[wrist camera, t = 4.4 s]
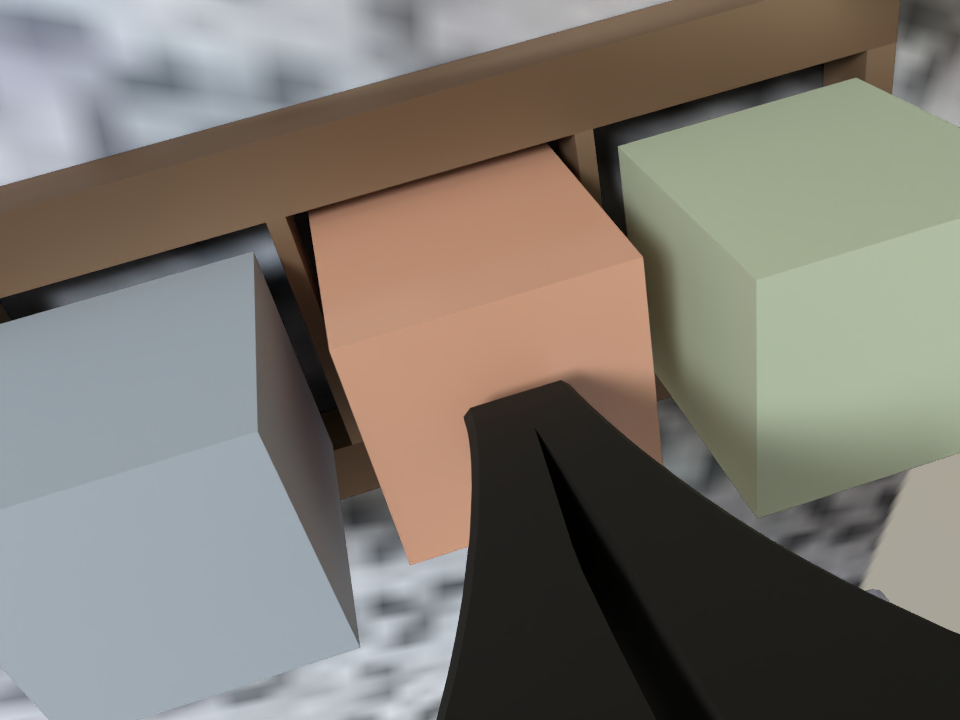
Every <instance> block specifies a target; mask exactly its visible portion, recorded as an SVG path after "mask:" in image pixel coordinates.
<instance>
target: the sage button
mask: <svg viewBox="0 0 960 720" xmlns="http://www.w3.org/2000/svg"><path fill="white" fill-rule="evenodd" d="M618 153H619V163H620V172H621V181H622V191H623V200H624V210H625V219H626V229H627V238H628V240H629V241H630V242H631V243H632V245H633V246H634V247H635V248H636V249H637V250H638V252H639V253H640V254H641V255H642V256H643V261H644V272H645V282H646V293H647V303H648V314H649V324H650V335H651V345H652V356H653V366H654V372H655V373H656V375H657V376H658V378H659V379H660V381H661V382H662V383H663V385H664V386H665V388H666V389H667V391H668V392H669V393H670V395H671V396H672V398H673V399H674V401H675V402H676V403H677V405H678V406H679V408H680V409H681V411H682V412H683V413H684V415H685V416H686V418H687V419H688V421H689V422H690V423H691V425H692V426H693V428H694V429H695V431H696V432H697V433H698V435H699V436H700V438H701V439H702V441H703V442H704V443H705V445H706V446H707V448H708V449H709V451H710V452H711V453H712V455H713V456H714V458H715V459H716V461H717V462H718V463H719V465H720V466H721V468H722V469H723V471H724V472H725V473H726V475H727V476H728V478H729V479H730V481H731V482H732V483H733V485H734V486H735V488H736V489H737V491H738V492H739V493H740V495H741V496H742V498H743V499H744V501H745V502H746V503H747V505H748V506H749V508H750V509H751V511H752V512H753V513H754V515H755V516H756V518H757V519H758V518H761V517H764V516H767V515H770V514H773V513H776V512H779V511H783V510H786V509H789V508H792V507H795V506H798V505H801V504H804V503H807V502H810V501H813V500H816V499H819V498H823V497H826V496H829V495H832V494H835V493H838V492H841V491H844V490H847V489H850V488H853V487H856V486H860V485H863V484H866V483H869V482H872V481H875V480H878V479H881V478H884V477H887V476H890V475H893V474H896V473H900V472H903V471H906V470H909V469H912V468H915V467H918V466H921V465H924V464H927V463H930V462H933V461H936V460H940V459H942V458H946V457H949V456H952V455H955V454H958V453H960V127H958V126H956V125H954V124H952V123H950V122H948V121H946V120H944V119H941V118H939V117H937V116H935V115H933V114H931V113H929V112H927V111H925V110H923V109H921V108H918V107H916V106H914V105H912V104H910V103H908V102H906V101H904V100H902V99H900V98H898V97H896V96H893V95H891V94H889V93H887V92H885V91H883V90H881V89H879V88H877V87H875V86H873V85H870V84H868V83H866V82H864V81H862V80H860V79H858V78H853V79H849V80H846V81H843V82H839V83H836V84H832V85H829V86H825V87H822V88H818V89H815V90H811V91H808V92H804V93H801V94H797V95H794V96H790V97H787V98H784V99H780V100H777V101H773V102H770V103H766V104H763V105H759V106H756V107H752V108H749V109H745V110H742V111H738V112H735V113H731V114H728V115H724V116H721V117H718V118H714V119H711V120H707V121H704V122H700V123H697V124H693V125H690V126H686V127H683V128H679V129H676V130H672V131H669V132H665V133H662V134H659V135H655V136H652V137H648V138H645V139H641V140H638V141H634V142H631V143H627V144H624V145H620V146H618Z"/></svg>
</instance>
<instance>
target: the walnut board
mask: <svg viewBox="0 0 960 720" xmlns="http://www.w3.org/2000/svg"><path fill="white" fill-rule="evenodd" d="M899 10H900V0H673V1H669V2H665V3H662V4H658V5H655V6H651V7H647V8H644V9H640V10H637V11H633V12H629V13H626V14H622V15H618V16H615V17H611V18H608V19H604V20H600V21H597V22H593V23H589V24H586V25H582V26H579V27H575V28H571V29H568V30H564V31H561V32H557V33H553V34H550V35H546V36H542V37H539V38H535V39H532V40H528V41H524V42H521V43H517V44H514V45H510V46H506V47H503V48H499V49H495V50H492V51H488V52H485V53H481V54H477V55H474V56H470V57H467V58H463V59H459V60H456V61H452V62H448V63H445V64H441V65H438V66H434V67H430V68H427V69H423V70H420V71H416V72H412V73H409V74H405V75H401V76H398V77H394V78H391V79H387V80H383V81H380V82H376V83H372V84H369V85H365V86H362V87H358V88H354V89H351V90H347V91H344V92H340V93H336V94H333V95H329V96H325V97H322V98H318V99H315V100H311V101H307V102H304V103H300V104H297V105H293V106H289V107H286V108H282V109H278V110H275V111H271V112H268V113H264V114H260V115H257V116H253V117H250V118H246V119H242V120H239V121H235V122H231V123H228V124H224V125H221V126H217V127H213V128H210V129H206V130H202V131H199V132H195V133H192V134H188V135H184V136H181V137H177V138H174V139H170V140H166V141H163V142H159V143H155V144H152V145H148V146H145V147H141V148H137V149H134V150H130V151H127V152H123V153H119V154H116V155H112V156H108V157H105V158H101V159H98V160H94V161H90V162H87V163H83V164H80V165H76V166H72V167H69V168H65V169H61V170H58V171H54V172H51V173H47V174H43V175H40V176H36V177H33V178H29V179H25V180H22V181H18V182H14V183H11V184H7V185H4V186H0V298H3V297H7V296H10V295H14V294H17V293H21V292H24V291H28V290H31V289H35V288H38V287H42V286H45V285H49V284H52V283H56V282H59V281H63V280H66V279H70V278H73V277H77V276H80V275H84V274H87V273H91V272H94V271H98V270H101V269H105V268H108V267H112V266H115V265H119V264H122V263H126V262H129V261H133V260H136V259H140V258H143V257H147V256H150V255H154V254H157V253H161V252H164V251H168V250H171V249H175V248H178V247H182V246H185V245H189V244H192V243H196V242H199V241H203V240H206V239H210V238H213V237H217V236H220V235H224V234H227V233H231V232H234V231H238V230H241V229H245V228H248V227H252V226H255V225H259V224H262V223H266V224H267V227H268V230H269V232H270V235H271V237H272V240H273V242H274V245H275V247H276V250H277V253H278V255H279V258H280V260H281V263H282V265H283V268H284V271H285V273H286V276H287V278H288V281H289V283H290V286H291V289H292V291H293V294H294V296H295V299H296V301H297V304H298V306H299V309H300V312H301V314H302V317H303V319H304V322H305V324H306V327H307V330H308V332H309V335H310V337H311V340H312V342H313V345H314V348H315V350H316V353H317V355H318V358H319V360H320V363H321V365H322V368H323V371H324V373H325V376H326V378H327V381H328V383H329V386H330V389H331V391H332V394H333V396H334V399H335V401H336V404H337V407H338V408H337V409H334V410H331V411H327V412H324V413H321V414H320V415H321V418H322V420H323V422H324V425H325V427H326V430H327V432H328V435H329V437H330V440H331V442H332V445H333V452H334V459H335V466H336V474H337V481H338V488H339V496H340V500H342V499H345V498H348V497H351V496H355V495H358V494H361V493H364V492H367V491H371V490H374V489H377V488H380V487H381V486H380V484H379V481H378V478H377V476H376V473H375V470H374V468H373V465H372V462H371V460H370V457H369V455H368V452H367V449H366V447H365V444H364V441H363V439H362V436H361V433H360V431H359V428H358V425H357V423H356V420H355V417H354V415H353V412H352V410H351V407H350V404H349V402H348V399H347V396H346V394H345V391H344V388H343V386H342V383H341V380H340V378H339V375H338V372H337V370H336V367H335V365H334V362H333V359H332V357H331V354H330V351H329V346H328V339H327V332H326V326H325V319H324V313H323V306H322V300H321V293H320V288H319V286H318V283H317V280H316V277H315V275H314V272H313V269H312V266H311V264H310V261H309V258H308V256H307V253H306V250H305V247H304V245H303V242H302V239H301V236H300V234H299V231H298V228H297V226H296V223H295V220H294V217H293V215H294V214H297V213H301V212H304V211H308V210H311V209H315V208H318V207H322V206H325V205H329V204H332V203H336V202H339V201H343V200H346V199H350V198H353V197H357V196H360V195H364V194H367V193H371V192H374V191H378V190H381V189H385V188H388V187H392V186H395V185H399V184H402V183H406V182H409V181H413V180H416V179H420V178H423V177H427V176H430V175H434V174H437V173H441V172H444V171H448V170H451V169H455V168H458V167H462V166H465V165H468V164H472V163H475V162H479V161H482V160H486V159H489V158H493V157H496V156H500V155H503V154H507V153H510V152H514V151H517V150H521V149H524V148H528V147H531V146H535V145H538V144H542V143H545V142H549V141H552V140H556V142H557V148H558V155H559V158H560V159H561V161H562V162H563V163H564V164H565V165H566V167H567V168H568V169H569V170H570V171H571V172H572V174H573V175H574V176H575V177H576V178H577V180H578V181H579V182H580V183H581V184H582V185H583V187H584V188H585V189H586V190H587V191H588V193H589V194H590V195H591V196H592V197H593V198H594V200H595V201H596V202H597V203H598V204H599V206H600V207H601V208H602V209H603V207H602V199H601V191H600V182H599V174H598V166H597V158H596V150H595V142H594V134H593V129H594V128H598V127H601V126H605V125H608V124H612V123H615V122H619V121H622V120H626V119H629V118H633V117H636V116H640V115H643V114H647V113H650V112H654V111H657V110H661V109H664V108H668V107H671V106H675V105H678V104H682V103H685V102H689V101H692V100H696V99H699V98H703V97H706V96H710V95H713V94H717V93H720V92H724V91H727V90H731V89H734V88H738V87H741V86H745V85H748V84H752V83H755V82H759V81H762V80H766V79H769V78H773V77H776V76H780V75H783V74H787V73H790V72H794V71H797V70H801V69H804V68H808V67H811V66H815V65H818V64H822V63H824V77H823V87H825V86H829V85H832V84H836V83H839V82H843V81H846V80H849V79H853V78H858V79H860V80H862V81H864V82H866V83H868V84H870V85H873V86H875V87H877V88H879V89H881V90H883V91H885V92H887V93H889V94H891V95H892V85H893V74H894V63H895V53H896V42H897V31H898V21H899ZM9 321H12V320H11V318H10V317H9V315H8V314H7V312H6V311H5V309H4V308H3V306H2V304H1V303H0V324H2V323H6V322H9ZM654 377H655V387H656V398H657V401H659V400H663V399H666V398H669V397H672V396H671V395H670V393H669V392H668V391H667V389H666V388H665V386H664V385H663V383H662V382H661V381H660V379H659V378H658V376H657V375H656V373H655V372H654Z"/></svg>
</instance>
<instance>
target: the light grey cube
mask: <svg viewBox="0 0 960 720" xmlns="http://www.w3.org/2000/svg"><path fill="white" fill-rule="evenodd" d="M358 648H360V643H359V636H358V628H357V621H356V613H355V606H354V599H353V591H352V584H351V577H350V569H349V562H348V555H347V547H346V540H345V533H344V525H343V518H342V510H341V503H340V496H339V488H338V481H337V474H336V466H335V459H334V452H333V445H332V442H331V440H330V437H329V435H328V432H327V430H326V427H325V425H324V422H323V420H322V418H321V415H320V413H319V410H318V408H317V405H316V403H315V400H314V398H313V396H312V393H311V391H310V388H309V386H308V383H307V381H306V378H305V376H304V374H303V371H302V369H301V366H300V364H299V361H298V359H297V356H296V354H295V352H294V349H293V347H292V344H291V342H290V339H289V337H288V334H287V332H286V330H285V327H284V325H283V322H282V320H281V317H280V315H279V312H278V310H277V307H276V305H275V303H274V300H273V298H272V295H271V293H270V290H269V288H268V285H267V283H266V281H265V278H264V276H263V273H262V271H261V268H260V266H259V263H258V261H257V259H256V256H255V254H254V251H252V252H249V253H245V254H242V255H238V256H235V257H231V258H228V259H224V260H221V261H218V262H214V263H211V264H207V265H204V266H200V267H197V268H193V269H190V270H186V271H183V272H179V273H176V274H172V275H169V276H165V277H162V278H159V279H155V280H152V281H148V282H145V283H141V284H138V285H134V286H131V287H127V288H124V289H120V290H117V291H113V292H110V293H106V294H103V295H99V296H96V297H93V298H89V299H86V300H82V301H79V302H75V303H72V304H68V305H65V306H61V307H58V308H54V309H51V310H47V311H44V312H40V313H37V314H34V315H30V316H27V317H23V318H20V319H16V320H13V321H9V322H6V323H2V324H0V667H1V668H2V669H3V670H4V672H5V673H6V674H7V675H8V676H9V677H10V678H11V679H12V680H13V681H14V682H15V684H16V685H17V686H18V687H19V688H20V689H21V690H22V691H23V692H24V693H25V694H26V695H27V697H28V698H29V699H30V700H31V701H32V702H33V703H34V704H35V705H36V706H37V707H38V708H39V710H40V711H41V712H42V713H43V714H44V715H45V716H46V717H47V718H48V719H49V720H139V719H142V718H145V717H148V716H151V715H155V714H158V713H161V712H164V711H167V710H170V709H173V708H176V707H179V706H182V705H185V704H188V703H192V702H195V701H198V700H201V699H204V698H207V697H210V696H213V695H216V694H219V693H222V692H225V691H228V690H232V689H235V688H238V687H241V686H244V685H247V684H250V683H253V682H256V681H259V680H262V679H265V678H268V677H272V676H275V675H278V674H281V673H284V672H287V671H290V670H293V669H296V668H299V667H302V666H305V665H308V664H312V663H315V662H318V661H321V660H324V659H327V658H330V657H333V656H336V655H339V654H342V653H345V652H349V651H352V650H355V649H358Z"/></svg>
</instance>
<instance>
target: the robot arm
mask: <svg viewBox="0 0 960 720" xmlns="http://www.w3.org/2000/svg"><path fill="white" fill-rule="evenodd" d="M463 418H464V422H465V425H466V429H467V432H468V438H469V445H470V455H471V480H472V491H471V516H470V536H469V547H468V555H467V564H466V572H465V581H464V589H463V597H462V603H461V609H460V615H459V621H458V627H457V632H456V638H455V643H454V647H453V652H452V657H451V662H450V667H449V671H448V676H447V680H446V684H445V688H444V692H443V696H442V700H441V704H440V708H439V712H438V716H437V720H960V634H958V633H955V632H953V631H950V630H948V629H946V628H943V627H941V626H939V625H937V624H935V623H933V622H931V621H929V620H926V619H924V618H922V617H920V616H918V615H915V614H914V613H911V612H909V611H907V610H905V609H903V608H900V607H899V606H896V605H894V604H892V603H890V602H889V600H888V599H887V598H886V597H885V595H884V594H883V593H882V592H881V591H879V590H868V591H864V590H862V589H860V588H858V587H856V586H854V585H852V584H850V583H848V582H846V581H844V580H842V579H840V578H839V577H837V576H835V575H833V574H831V573H829V572H827V571H826V570H824V569H822V568H820V567H818V566H816V565H814V564H812V563H811V562H809V561H807V560H805V559H803V558H802V557H800V556H798V555H796V554H795V553H793V552H791V551H789V550H788V549H786V548H784V547H783V546H781V545H779V544H777V543H776V542H774V541H772V540H770V539H769V538H767V537H766V536H764V535H762V534H761V533H759V532H757V531H756V530H754V529H753V528H751V527H749V526H748V525H746V524H745V523H743V522H742V521H740V520H739V519H737V518H735V517H734V516H732V515H731V514H729V513H728V512H726V511H725V510H723V509H722V508H721V507H719V506H718V505H716V504H715V503H713V502H712V501H710V500H709V499H707V498H706V497H704V496H703V495H701V494H700V493H699V492H697V491H696V490H694V489H693V488H692V487H690V486H689V485H688V484H686V483H685V482H683V481H682V480H681V479H679V478H678V477H677V476H675V475H674V474H673V473H671V472H670V471H669V470H668V469H666V468H665V467H664V466H662V465H661V464H660V463H659V462H657V461H656V460H655V459H653V458H652V457H651V456H650V455H648V454H647V453H646V452H644V451H643V450H642V449H641V448H639V447H638V446H637V445H636V444H635V443H633V442H632V441H631V440H630V439H628V438H627V437H626V436H625V435H624V434H623V433H621V432H620V431H619V430H618V429H617V428H616V427H615V426H613V425H612V424H611V423H610V422H609V421H608V420H607V419H605V418H604V417H603V416H602V415H601V414H600V413H599V412H598V411H597V410H595V409H594V408H593V407H592V406H591V405H590V404H589V403H588V402H587V401H586V400H585V399H584V398H583V397H582V396H581V395H580V394H579V393H578V392H577V391H576V390H575V389H574V388H573V387H572V386H571V385H570V384H568V383H566V382H564V381H562V380H559V381H556V382H553V383H549V384H546V385H543V386H539V387H536V388H533V389H530V390H526V391H523V392H520V393H517V394H513V395H510V396H507V397H504V398H500V399H497V400H494V401H491V402H487V403H484V404H481V405H477V406H474V407H471V408H470V409H469V410H468V411H467V413H466V414H465V416H464V417H463Z"/></svg>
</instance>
